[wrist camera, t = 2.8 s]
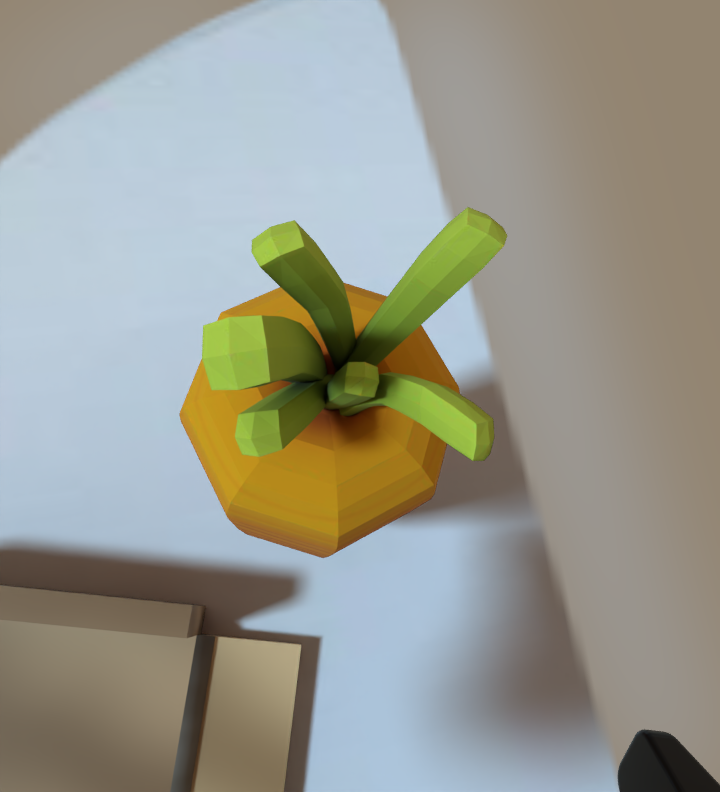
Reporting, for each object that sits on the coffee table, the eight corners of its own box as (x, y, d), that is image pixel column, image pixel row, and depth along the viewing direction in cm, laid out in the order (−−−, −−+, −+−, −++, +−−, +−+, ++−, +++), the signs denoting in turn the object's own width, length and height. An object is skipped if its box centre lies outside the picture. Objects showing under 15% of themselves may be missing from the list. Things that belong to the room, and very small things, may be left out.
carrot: (373, 418, 22) (530, 80, 8) (390, 568, 21) (622, 483, 6) (224, 429, 21) (105, 80, 7) (231, 585, 20) (99, 532, 6)
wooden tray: (261, 967, 17) (257, 1039, 14) (-211, 937, 16) (-315, 1006, 13) (304, 616, 20) (307, 617, 17) (-97, 574, 19) (-164, 568, 16)
